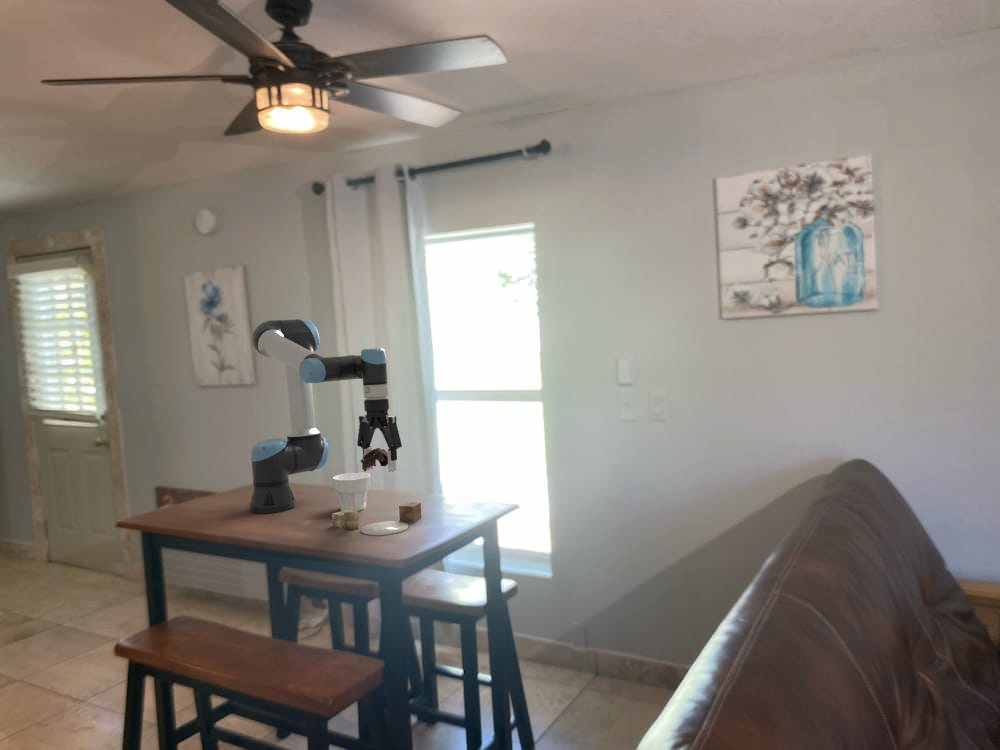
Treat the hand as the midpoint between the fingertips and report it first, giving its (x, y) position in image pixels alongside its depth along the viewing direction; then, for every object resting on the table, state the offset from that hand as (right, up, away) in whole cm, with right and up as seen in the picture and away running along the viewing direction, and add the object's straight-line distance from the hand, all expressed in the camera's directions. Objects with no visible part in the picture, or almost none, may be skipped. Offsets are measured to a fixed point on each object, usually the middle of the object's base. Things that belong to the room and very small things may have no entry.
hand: (380, 470), depth 227 cm
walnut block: (+9, -16, +1) cm, 18 cm away
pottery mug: (0, -1, +1) cm, 1 cm away
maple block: (-11, -17, -2) cm, 20 cm away
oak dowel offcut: (-8, -17, -6) cm, 20 cm away
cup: (-12, -16, +19) cm, 27 cm away
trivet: (+3, -16, -9) cm, 19 cm away
